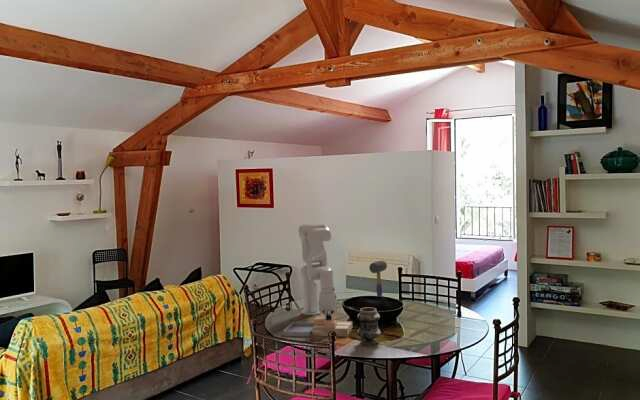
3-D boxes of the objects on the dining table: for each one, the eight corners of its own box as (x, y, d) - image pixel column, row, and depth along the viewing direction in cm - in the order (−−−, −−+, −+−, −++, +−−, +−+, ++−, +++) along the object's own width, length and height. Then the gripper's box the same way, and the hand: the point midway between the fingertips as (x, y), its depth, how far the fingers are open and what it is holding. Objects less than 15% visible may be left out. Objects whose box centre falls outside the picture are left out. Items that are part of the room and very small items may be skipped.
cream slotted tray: (319, 327, 296) (318, 320, 296) (352, 328, 291) (352, 321, 291) (312, 335, 282) (311, 328, 282) (347, 336, 277) (347, 329, 277)
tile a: (316, 321, 295) (316, 316, 295) (326, 321, 294) (326, 316, 294) (314, 324, 289) (313, 319, 289) (324, 324, 288) (324, 319, 288)
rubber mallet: (379, 308, 335) (377, 263, 334) (370, 306, 339) (368, 262, 338) (389, 303, 344) (387, 260, 343) (380, 302, 349) (378, 259, 348)
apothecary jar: (378, 347, 255) (376, 312, 255) (355, 346, 259) (353, 311, 259) (383, 340, 267) (381, 306, 266) (361, 339, 271) (359, 305, 270)
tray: (293, 326, 303) (293, 321, 303) (319, 326, 299) (318, 322, 299) (282, 335, 284) (282, 331, 284) (310, 336, 280) (309, 332, 280)
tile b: (327, 325, 287) (326, 319, 287) (337, 325, 285) (337, 320, 285) (324, 328, 281) (324, 322, 281) (335, 328, 279) (334, 323, 279)
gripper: (341, 288, 292) (342, 320, 292) (316, 289, 295) (318, 320, 296) (338, 291, 284) (340, 324, 285) (312, 291, 288) (314, 323, 289)
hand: (328, 322), depth 290 cm, fingers closed
